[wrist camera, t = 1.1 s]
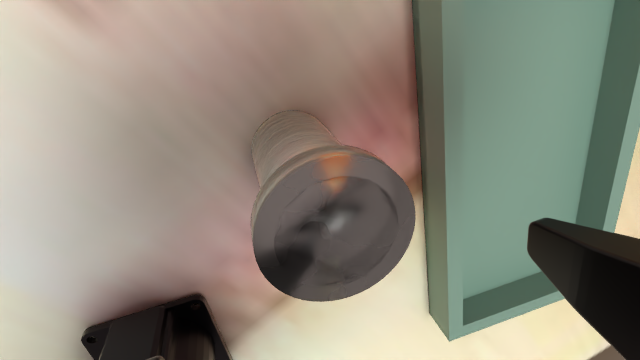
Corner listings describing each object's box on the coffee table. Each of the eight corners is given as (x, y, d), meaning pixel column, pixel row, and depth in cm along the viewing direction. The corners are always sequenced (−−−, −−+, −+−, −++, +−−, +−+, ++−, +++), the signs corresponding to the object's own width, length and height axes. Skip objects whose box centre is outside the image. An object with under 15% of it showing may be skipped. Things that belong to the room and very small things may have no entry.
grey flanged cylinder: (347, 180, 20) (419, 273, 13) (254, 207, 19) (276, 321, 12) (332, 86, 17) (409, 135, 10) (225, 113, 17) (230, 185, 10)
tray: (571, 263, 28) (601, 284, 26) (429, 313, 26) (449, 341, 24) (633, -80, 18) (692, -94, 15) (409, -35, 16) (440, -42, 14)
